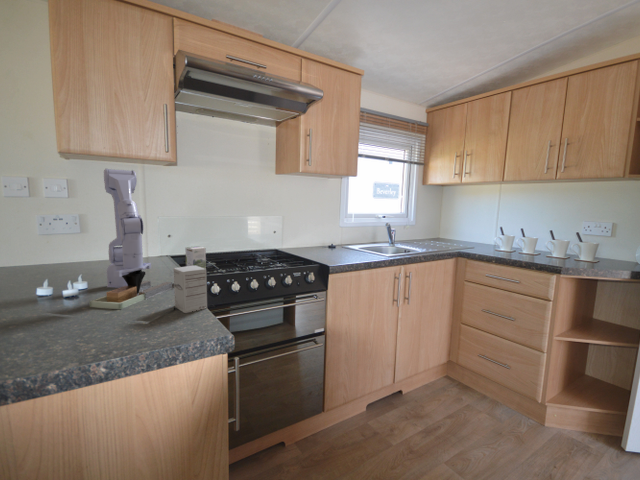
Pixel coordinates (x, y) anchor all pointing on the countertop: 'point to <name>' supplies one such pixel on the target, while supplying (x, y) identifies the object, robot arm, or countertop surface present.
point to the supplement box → (190, 288)
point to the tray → (113, 305)
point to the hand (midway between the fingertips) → (134, 293)
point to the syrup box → (196, 256)
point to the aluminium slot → (153, 289)
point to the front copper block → (117, 295)
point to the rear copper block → (130, 291)
